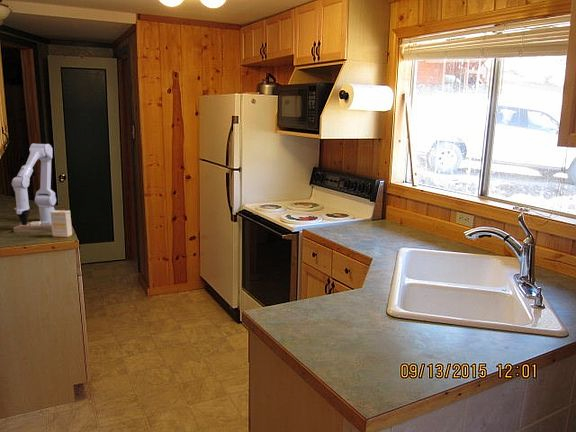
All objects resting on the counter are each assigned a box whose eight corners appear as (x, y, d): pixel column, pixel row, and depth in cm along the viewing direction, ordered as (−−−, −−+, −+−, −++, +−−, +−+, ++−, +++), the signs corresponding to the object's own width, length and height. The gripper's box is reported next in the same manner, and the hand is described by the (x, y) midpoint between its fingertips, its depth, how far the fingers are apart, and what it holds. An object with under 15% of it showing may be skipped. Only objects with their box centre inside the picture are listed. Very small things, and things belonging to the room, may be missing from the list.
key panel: (21, 226, 266) (21, 222, 266) (57, 225, 270) (56, 221, 270) (13, 232, 254) (13, 227, 253) (51, 231, 258) (50, 226, 257)
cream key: (32, 225, 263) (32, 221, 263) (41, 225, 264) (41, 221, 264) (30, 227, 259) (30, 223, 259) (39, 226, 260) (38, 222, 260)
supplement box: (72, 235, 251) (70, 210, 248) (67, 237, 246) (65, 212, 243) (57, 234, 251) (55, 209, 249) (52, 237, 247) (49, 211, 244)
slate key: (43, 224, 264) (43, 221, 264) (52, 224, 265) (51, 220, 265) (41, 226, 260) (41, 222, 260) (50, 226, 261) (49, 222, 261)
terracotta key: (22, 227, 262) (21, 223, 262) (30, 227, 263) (30, 223, 263) (19, 229, 258) (19, 225, 258) (28, 229, 259) (27, 225, 259)
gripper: (18, 197, 264) (20, 222, 266) (9, 202, 250) (11, 228, 253) (32, 197, 265) (34, 221, 268) (24, 202, 251) (26, 227, 254)
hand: (24, 224), depth 260 cm, fingers closed, pressing on terracotta key
